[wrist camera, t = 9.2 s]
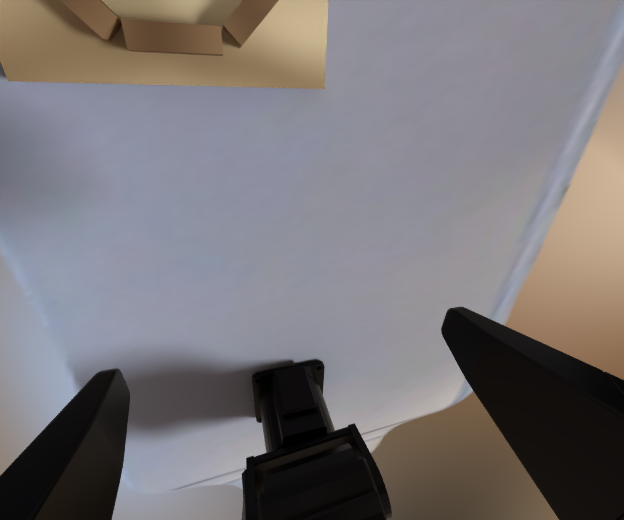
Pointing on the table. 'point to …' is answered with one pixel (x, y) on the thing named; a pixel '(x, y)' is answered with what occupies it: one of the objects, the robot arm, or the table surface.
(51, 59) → the board
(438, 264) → the table surface
